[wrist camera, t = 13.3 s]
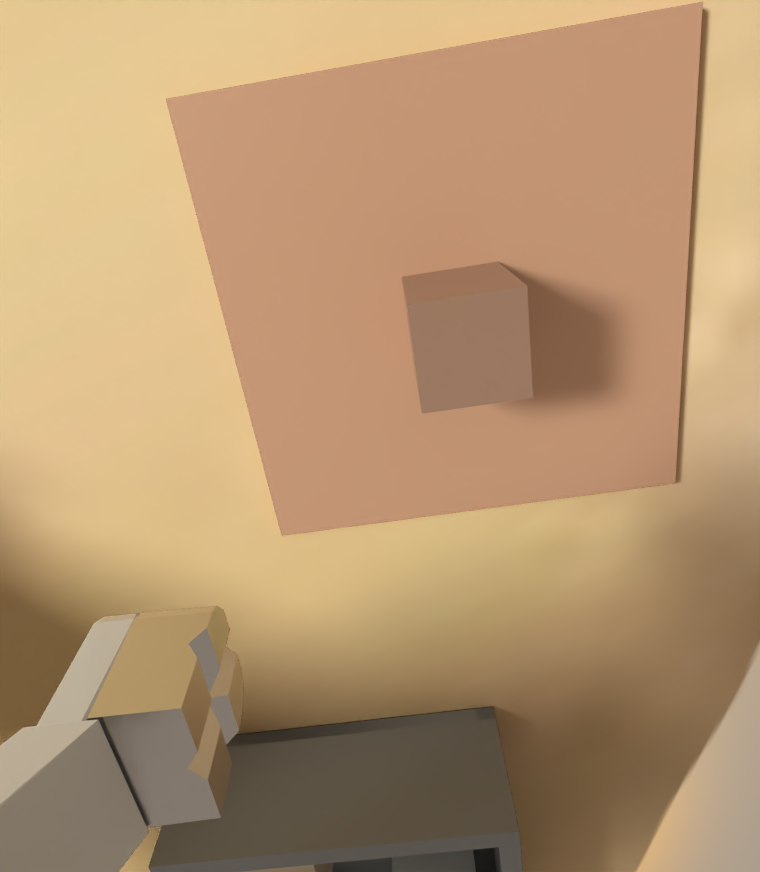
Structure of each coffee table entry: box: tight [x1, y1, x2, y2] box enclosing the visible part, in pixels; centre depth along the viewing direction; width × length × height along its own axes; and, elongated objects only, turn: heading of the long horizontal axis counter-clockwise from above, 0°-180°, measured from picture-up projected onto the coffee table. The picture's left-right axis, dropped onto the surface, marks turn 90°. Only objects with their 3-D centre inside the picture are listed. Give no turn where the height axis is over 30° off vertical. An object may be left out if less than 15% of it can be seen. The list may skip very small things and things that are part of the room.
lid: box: [166, 2, 703, 536], centre depth 18 cm, size 15×15×5 cm
